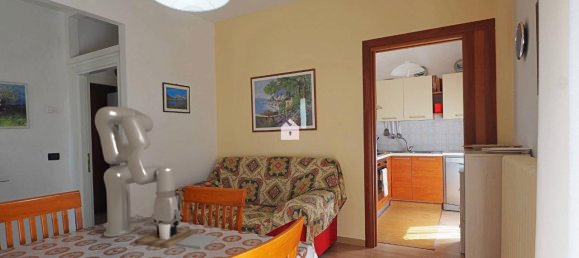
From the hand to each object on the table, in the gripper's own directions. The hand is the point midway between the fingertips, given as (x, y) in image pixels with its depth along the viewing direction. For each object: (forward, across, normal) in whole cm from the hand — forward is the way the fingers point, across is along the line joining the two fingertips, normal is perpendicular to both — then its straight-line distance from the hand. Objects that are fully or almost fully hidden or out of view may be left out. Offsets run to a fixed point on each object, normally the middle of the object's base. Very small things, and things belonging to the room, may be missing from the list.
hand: (166, 234), depth 129 cm
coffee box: (+2, -12, +15) cm, 19 cm away
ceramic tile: (+2, +16, 0) cm, 16 cm away
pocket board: (+2, 0, 0) cm, 2 cm away
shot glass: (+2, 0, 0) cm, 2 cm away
